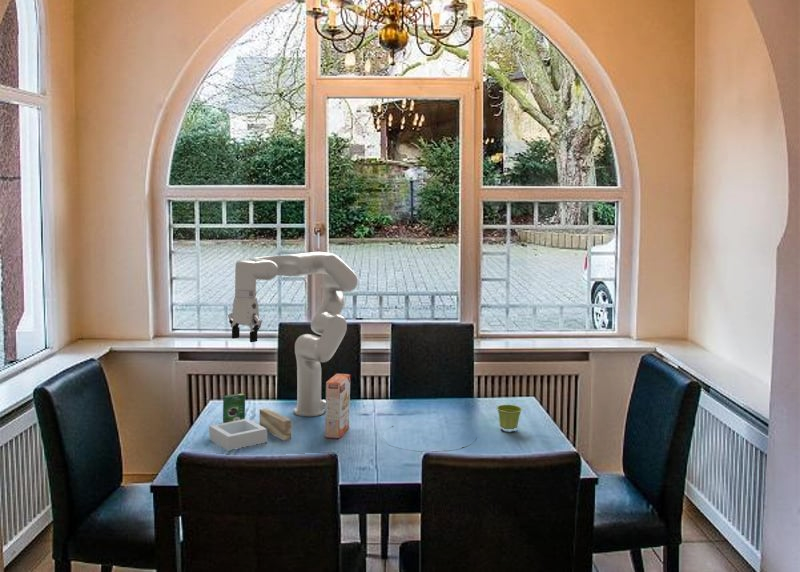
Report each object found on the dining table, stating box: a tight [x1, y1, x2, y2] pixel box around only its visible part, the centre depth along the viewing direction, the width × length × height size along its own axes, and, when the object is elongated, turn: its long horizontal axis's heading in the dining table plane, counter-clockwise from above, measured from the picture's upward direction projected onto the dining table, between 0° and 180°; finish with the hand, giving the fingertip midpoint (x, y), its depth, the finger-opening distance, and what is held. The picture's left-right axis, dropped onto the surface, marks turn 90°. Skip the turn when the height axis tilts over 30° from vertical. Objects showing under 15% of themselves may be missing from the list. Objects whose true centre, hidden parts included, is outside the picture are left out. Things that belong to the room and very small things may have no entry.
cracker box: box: [324, 373, 351, 439], centre depth 298 cm, size 14×6×21 cm, turn 168°
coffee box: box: [222, 392, 246, 423], centre depth 301 cm, size 8×3×13 cm, turn 129°
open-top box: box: [208, 418, 268, 452], centre depth 289 cm, size 15×15×5 cm
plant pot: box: [496, 404, 523, 429], centre depth 305 cm, size 9×9×9 cm
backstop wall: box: [259, 407, 292, 441], centre depth 298 cm, size 3×18×7 cm, turn 38°
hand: (244, 339), depth 300 cm, fingers open, 9 cm apart
